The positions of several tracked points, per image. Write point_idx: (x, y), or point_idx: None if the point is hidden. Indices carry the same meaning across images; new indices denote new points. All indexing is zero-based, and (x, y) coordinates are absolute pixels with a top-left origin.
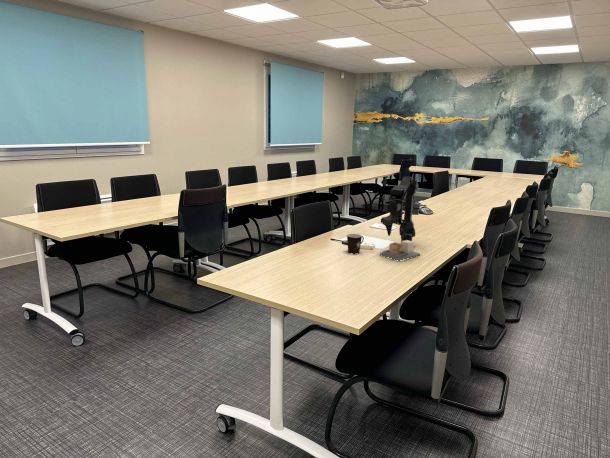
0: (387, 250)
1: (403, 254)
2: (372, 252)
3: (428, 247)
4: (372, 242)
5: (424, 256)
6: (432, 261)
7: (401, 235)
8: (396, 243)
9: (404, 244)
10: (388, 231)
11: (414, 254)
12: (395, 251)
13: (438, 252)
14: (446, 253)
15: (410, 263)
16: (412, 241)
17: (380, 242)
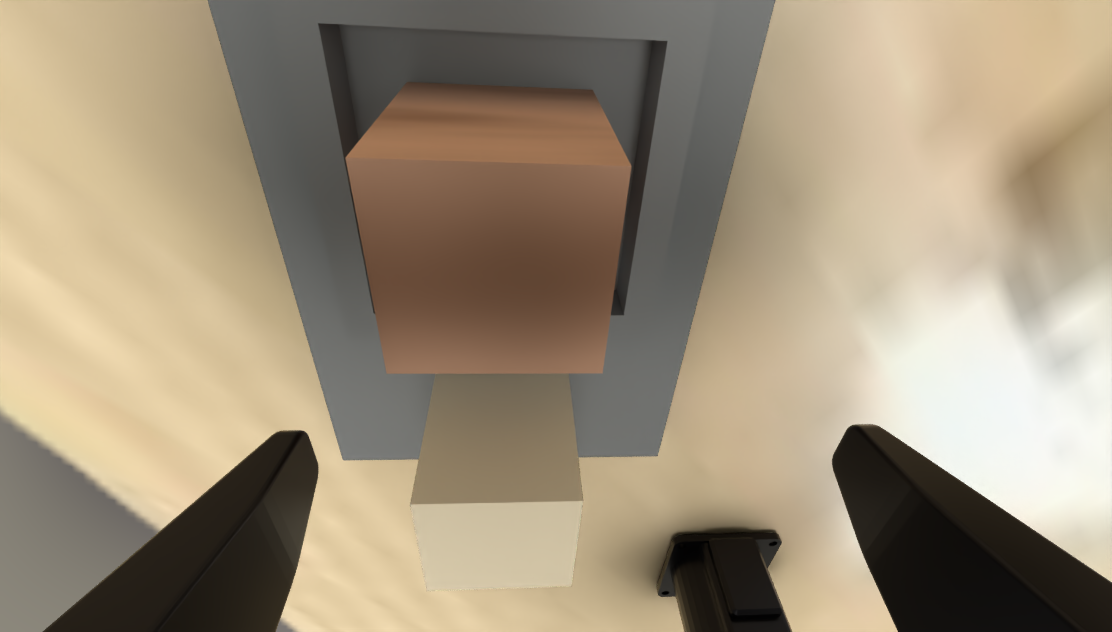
0: (667, 139)
1: (322, 216)
2: (957, 31)
3: (537, 620)
4: (1087, 408)
5: (329, 462)
6: (107, 405)
7: (175, 561)
8: (530, 333)
9: (506, 463)
10: (986, 558)
11: (349, 396)
12: (402, 109)
13: (381, 598)
14: (326, 617)
15: (62, 81)
16: (462, 589)
17: (989, 464)
